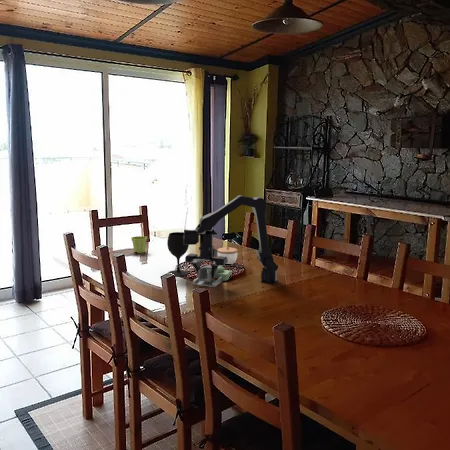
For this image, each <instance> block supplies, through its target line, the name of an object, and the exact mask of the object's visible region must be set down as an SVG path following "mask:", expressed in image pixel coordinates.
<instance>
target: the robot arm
mask: <svg viewBox="0 0 450 450" xmlns="http://www.w3.org/2000/svg"><path fill="white" fill-rule="evenodd" d="M241 206H246V207H250V208H252V211H253V214H254V217H255V221H256V228H257V236H258V238H257V239H258V243H259V247H258V249H257V250H255V252H256V259H257V260H258V261H259V263H260V264H261V265H262V270H261V272H260V276H261V277H260V281H261V282H260V283H265V284H266V283H267V284H268V283H269V284H276V283H277V282H278V269H279V265H278V264H277V263H276V262H274V257H273V253H272V251H271V248H270V246H269V238H268V231H267V230H268V229H267V222H266V221H267V220H266V214H267V201H266V200H265V198H262V197H261V196H255V197H250V196H244V195H240V194H239V195H237V196H236V197H235V198H233V199H232V200H230V201H229V202H227V203H226V204H224V205H223V206H221V207H220V208H217V210H215V211H213V212H210V213H208V214H205V215H203V216H201V217H200V219H199V221H198V222H199V223H198V224H197V226H196V227H195V228H194V229H184V230H183V232H184V236H183V243H184V245H189V246H191V245H192V246H195V245H196V246H197V244H198V243H199V247H198V250H199V255H198V254H197V253H189V254H187V255H186V256H185V259H184V262H186V263H190V264H191V265H192V266H193V268H194V270H195V271H196V273H197V275H198V270H199V269H200V268H202V267H201V264H202V262H210V263H213V264H211V266H212V279H213V278H214V276H215V273H216V270H217V268H218V266H226V265H225V264H226V263H228V259H227V257H223V256H219V257H218V249H216V248H215V247H214V244H213V240H214V239H213V238H214V237H213V235H214V236H215V235H216V236H217V235H218V233H217V231H215V230H214V227H215V226H216V225H217V224H218V223H219V222H220V220H221V219H223V218H224V217H227V216H228V215H229V214H230V213H232V212H233V211H235V210H236V209H238V208H239V207H241Z"/></svg>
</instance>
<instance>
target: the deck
mask: <svg viewBox="0 0 450 450" xmlns="http://www.w3.org/2000/svg"><path fill="white" fill-rule="evenodd" d="M210 270H211V269H207V274H209V271H210ZM230 275H231V276H232V270H227V269H225V266H223V265H220V266H218V277H217V278H218V279H217V280H212V281H211V282H206V281H198V277H196V278H194V279H193V280H192V285H195V286H196V285H197V286H202V287H203V286H204V287H212V288H217V286H218V285H220V284H221V283H222V282H223V281H224V282H225V281H228V280H229V279H230V278H231V277H230ZM229 277H230V278H229Z"/></svg>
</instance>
